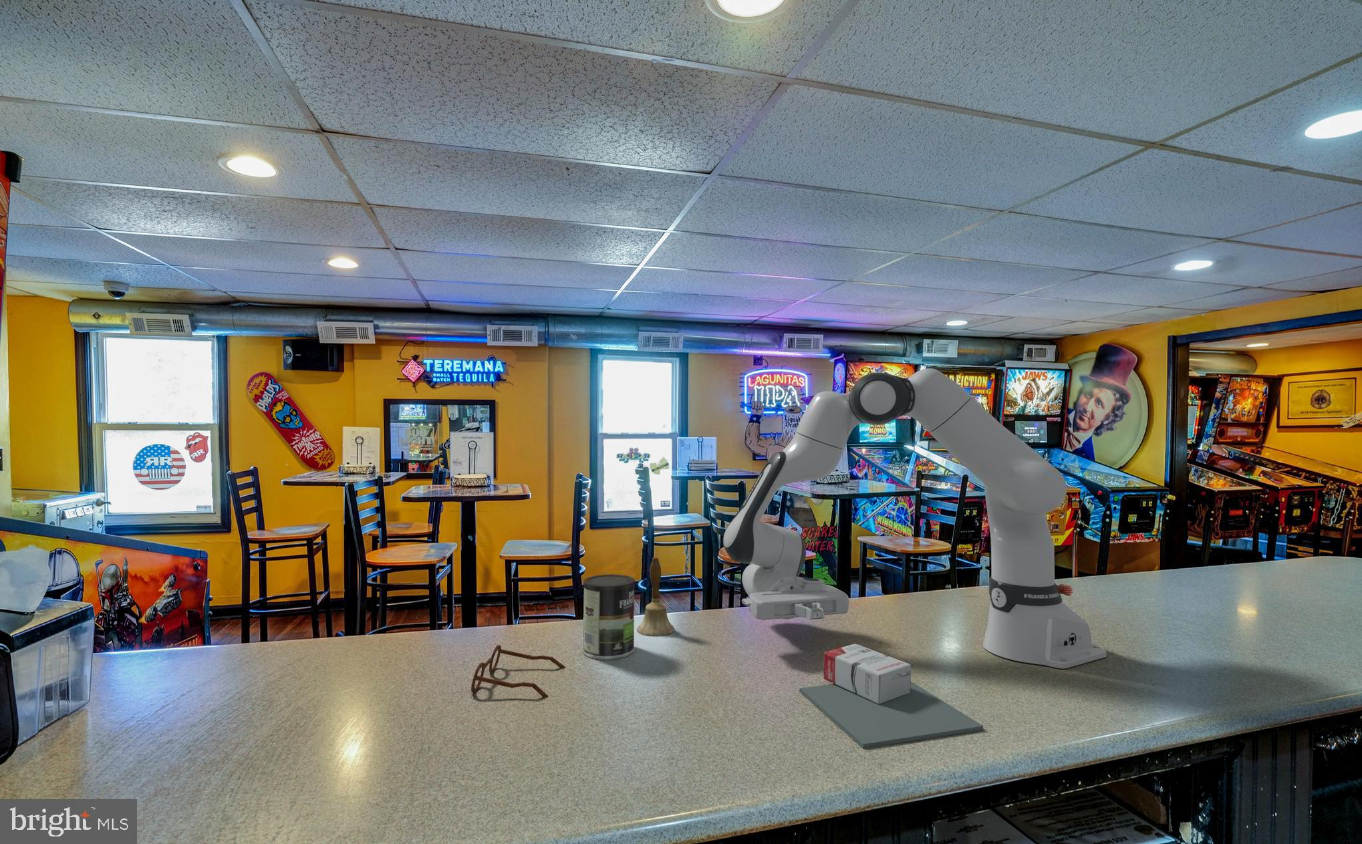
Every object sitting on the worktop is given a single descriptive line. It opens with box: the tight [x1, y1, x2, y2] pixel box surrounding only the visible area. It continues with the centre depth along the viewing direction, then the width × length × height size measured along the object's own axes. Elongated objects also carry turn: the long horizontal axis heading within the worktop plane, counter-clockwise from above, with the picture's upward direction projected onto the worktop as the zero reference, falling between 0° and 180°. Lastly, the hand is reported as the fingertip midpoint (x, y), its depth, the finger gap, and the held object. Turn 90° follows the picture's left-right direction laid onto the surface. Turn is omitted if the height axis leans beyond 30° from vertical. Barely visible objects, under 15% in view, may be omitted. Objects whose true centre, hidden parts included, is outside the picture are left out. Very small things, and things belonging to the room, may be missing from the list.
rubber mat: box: [799, 681, 984, 749], centre depth 94 cm, size 20×19×1 cm
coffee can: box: [582, 573, 636, 661], centre depth 120 cm, size 10×10×14 cm
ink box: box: [823, 643, 912, 704], centre depth 101 cm, size 8×5×12 cm
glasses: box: [470, 644, 566, 698], centre depth 105 cm, size 13×13×5 cm
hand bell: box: [636, 557, 675, 637], centre depth 133 cm, size 8×8×16 cm
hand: (817, 615), depth 113 cm, fingers closed
